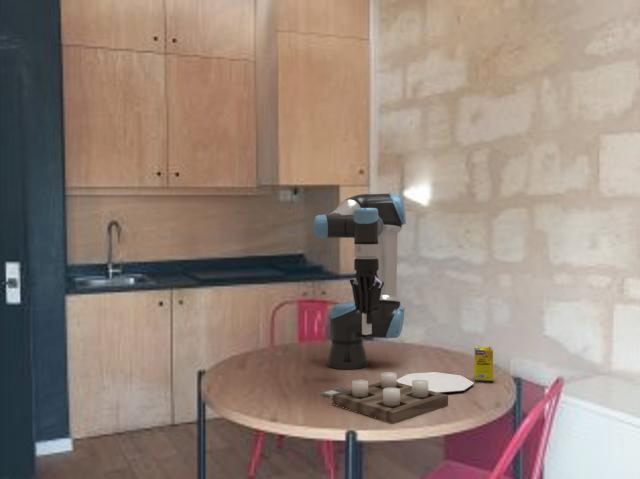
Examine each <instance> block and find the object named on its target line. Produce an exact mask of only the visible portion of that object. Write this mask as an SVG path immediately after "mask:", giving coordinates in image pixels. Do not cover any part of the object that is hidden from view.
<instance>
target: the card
mask: <svg viewBox="0 0 640 479" xmlns="http://www.w3.org/2000/svg"><path fill="white" fill-rule="evenodd" d="M349 390H350V389H348V388H345V387H338V388H334V389H329V390H326V391H322V392H320V395H321V394H323V395H325V396H324V397H327V396H329V397H328V398H330V397H332V398H331V399H333V395H334V394H338V393H341V392H345V391H349ZM323 395H322V396H323Z"/></svg>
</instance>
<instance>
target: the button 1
mask: <svg viewBox="0 0 640 479" xmlns="http://www.w3.org/2000/svg"><path fill="white" fill-rule="evenodd" d="M368 385H369V381H368V380H367V379H361V378H360V379H353V380H351V390H352V396H355V397H366V396H368Z"/></svg>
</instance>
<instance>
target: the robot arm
mask: <svg viewBox="0 0 640 479" xmlns="http://www.w3.org/2000/svg"><path fill="white" fill-rule="evenodd" d="M404 202H405V201H404V198H403V196H402V195H401V194H400V193H390V192H389V193H362V194H356V195H353V196H351V197H348V198H346V199H344V200H342V201H341V202H340V203H338V205H337V207H336V209H334V210H333V211H332V212H331V213H328V214H318V215H316V216H315V218H314V221H313V231H314V235H315V237H316V238H321V239H336V238H337V239H339V238H340V239H341V238H343V239H346V238H347V239H350V238H351V239H354V241H353V244H354V245H353V248H354V250H353V254H354V257H355V258H354V261H353V262H354V263H353V265H354V266H353V267H354V268H353V269H354V271H356V272H355V277H354V278H351V279H350V280H349V283H350V285H351V290H352V296H353V300H352V301H345V302H340V303H336V304H334V305H333V306H332V307H331V312H330V313H331V314H330V315H331V316H330V326H331V346H330V350H329V353H328V356H327V358H326V365H327V366H328V367H329V368H332V369H336V370H337V369H338V370H339V369H340V370H355V369H362V368H366V367H367V366H368V365H369V364H368V363H369V361H368V360H369V359H368V355H367V353H366V350H365V349H366V348H365V346H364V338H369V339H370V338H373V339H375V338H376V339H377V338H378V339H387V340H388V339H396V338H397V339H398V338H399V337H400V336H401V334H402V330H403V326H404V320H405V307H404V306H403V305H401V300H400V299H399V298H398V297H397V283H398V282H397V281H398V279H397V277H398V276H397V274H398V234H399V233H400V232H401V231H402V229H403V226H404V225H406V224H407V223H406V222H407V221H406V219H407V217H406V209H405V203H404Z"/></svg>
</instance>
